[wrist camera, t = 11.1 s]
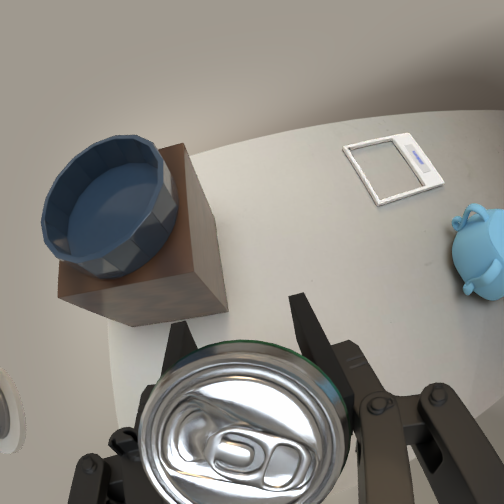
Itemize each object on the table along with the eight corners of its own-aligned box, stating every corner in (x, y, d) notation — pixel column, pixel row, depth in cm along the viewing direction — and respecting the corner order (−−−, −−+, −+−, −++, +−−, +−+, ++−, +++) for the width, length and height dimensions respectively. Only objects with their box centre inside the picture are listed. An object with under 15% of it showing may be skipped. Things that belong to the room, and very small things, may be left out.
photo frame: (444, 182, 50) (378, 203, 50) (442, 185, 51) (377, 206, 51) (408, 131, 56) (343, 145, 55) (407, 135, 57) (342, 149, 56)
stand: (132, 327, 46) (57, 297, 28) (129, 238, 53) (71, 178, 34) (228, 311, 46) (194, 271, 28) (214, 218, 53) (183, 142, 34)
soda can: (235, 345, 17) (159, 303, 6) (317, 367, 16) (392, 366, 5) (210, 422, 15) (104, 493, 4) (292, 445, 15) (314, 560, 3)
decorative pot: (445, 300, 43) (489, 276, 30) (441, 219, 49) (474, 180, 36) (505, 307, 40) (549, 287, 28) (498, 233, 46) (534, 202, 33)
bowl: (62, 289, 28) (33, 274, 23) (74, 181, 34) (55, 159, 29) (184, 264, 28) (165, 242, 23) (176, 149, 34) (163, 119, 29)
